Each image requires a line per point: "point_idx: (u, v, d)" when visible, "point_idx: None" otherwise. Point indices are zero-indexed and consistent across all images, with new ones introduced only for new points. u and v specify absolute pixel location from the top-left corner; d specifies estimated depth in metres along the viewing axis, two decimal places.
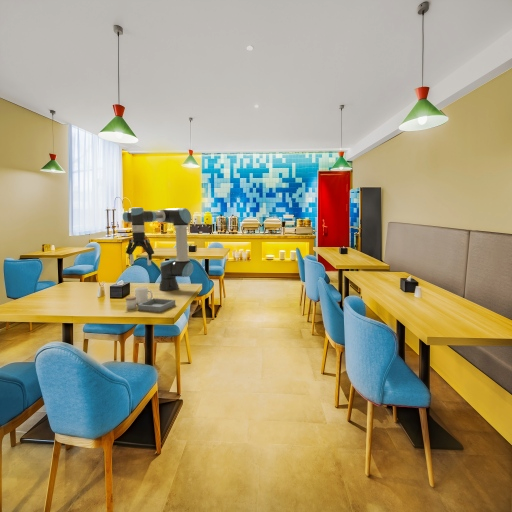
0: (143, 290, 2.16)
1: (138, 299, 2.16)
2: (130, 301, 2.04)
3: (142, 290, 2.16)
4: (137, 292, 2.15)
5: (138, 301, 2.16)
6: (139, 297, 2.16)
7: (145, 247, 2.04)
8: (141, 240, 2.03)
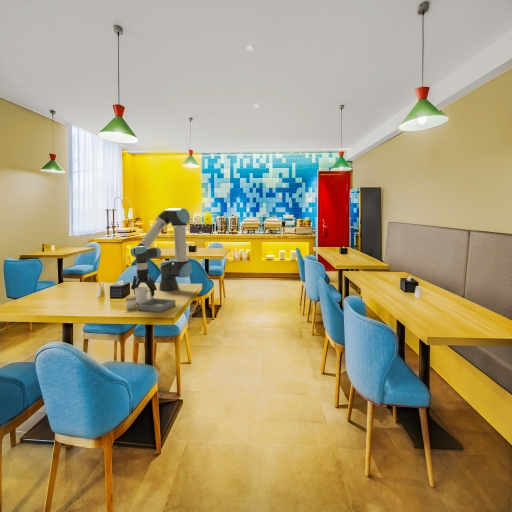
0: (143, 290, 2.16)
1: (138, 299, 2.16)
2: (130, 301, 2.04)
3: (142, 290, 2.16)
4: (137, 292, 2.15)
5: (138, 301, 2.16)
6: (139, 297, 2.16)
7: (148, 284, 2.16)
8: (145, 277, 2.16)
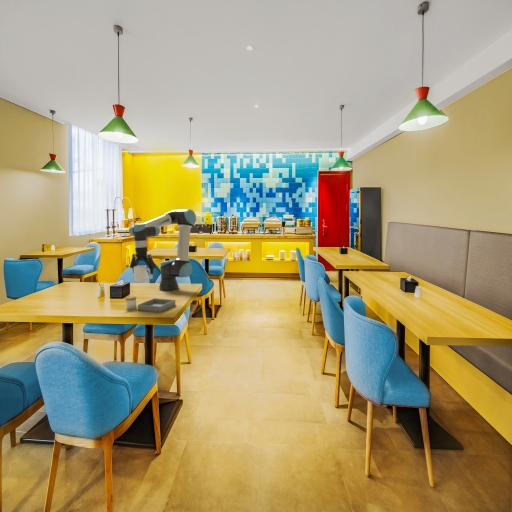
0: (142, 268, 2.14)
1: (137, 277, 2.14)
2: (130, 301, 2.04)
3: (141, 268, 2.14)
4: (136, 270, 2.14)
5: (137, 279, 2.14)
6: (138, 275, 2.14)
7: (147, 262, 2.15)
8: (144, 255, 2.14)
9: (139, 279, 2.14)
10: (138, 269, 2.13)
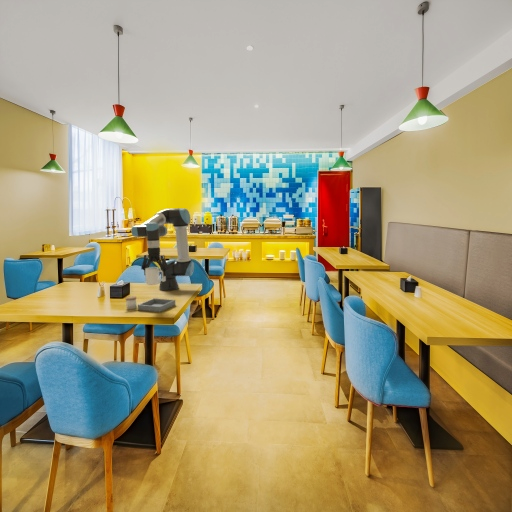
0: (154, 270, 2.01)
1: (149, 279, 2.01)
2: (130, 301, 2.04)
3: (153, 270, 2.01)
4: (148, 272, 2.01)
5: (149, 282, 2.01)
6: (150, 277, 2.01)
7: (160, 263, 2.02)
8: (156, 255, 2.01)
9: (151, 281, 2.01)
10: (150, 271, 2.00)
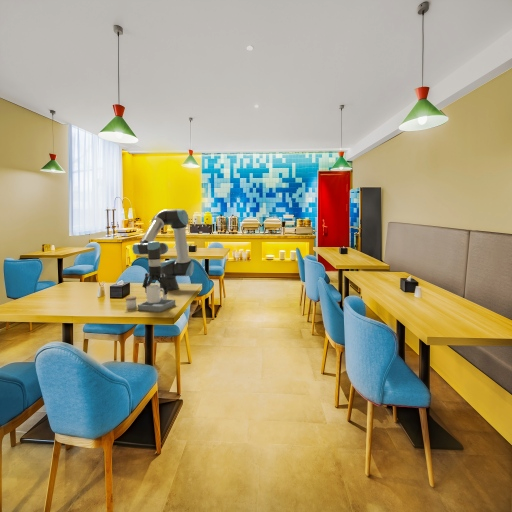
0: (155, 288, 2.03)
1: (150, 298, 2.03)
2: (130, 301, 2.04)
3: (154, 288, 2.02)
4: (149, 290, 2.02)
5: (150, 300, 2.03)
6: (151, 295, 2.02)
7: (161, 281, 2.03)
8: (157, 274, 2.03)
9: (152, 300, 2.03)
10: (151, 289, 2.02)
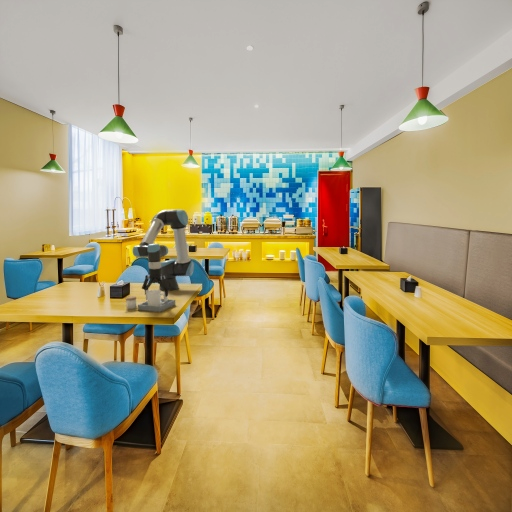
0: (156, 293, 2.03)
1: (151, 303, 2.03)
2: (130, 301, 2.04)
3: (155, 293, 2.03)
4: (150, 295, 2.03)
5: (151, 305, 2.03)
6: (152, 300, 2.03)
7: (161, 283, 2.03)
8: (157, 276, 2.03)
9: (153, 305, 2.03)
10: (152, 294, 2.02)
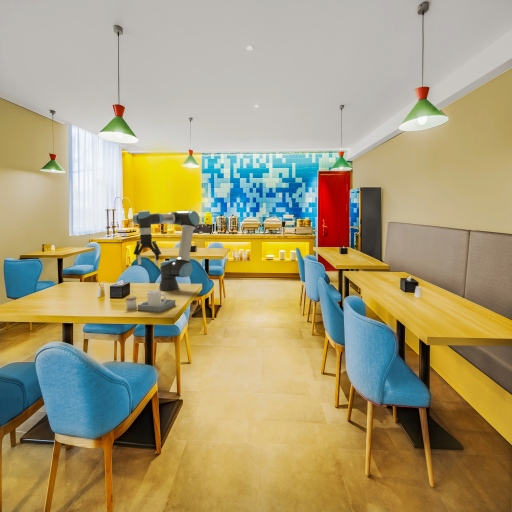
0: (156, 293, 2.03)
1: (151, 303, 2.03)
2: (130, 301, 2.04)
3: (155, 293, 2.03)
4: (150, 296, 2.03)
5: (151, 305, 2.03)
6: (152, 301, 2.03)
7: (152, 248, 2.17)
8: (148, 242, 2.16)
9: (153, 305, 2.03)
10: (152, 294, 2.02)
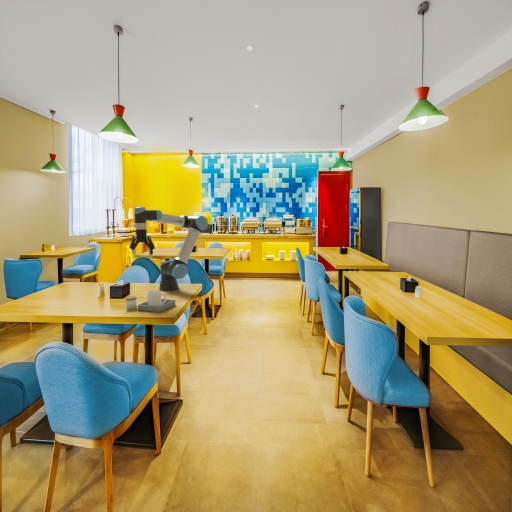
0: (156, 293, 2.03)
1: (151, 303, 2.03)
2: (130, 301, 2.04)
3: (155, 293, 2.03)
4: (150, 296, 2.03)
5: (151, 305, 2.03)
6: (152, 301, 2.03)
7: (147, 243, 2.26)
8: (143, 236, 2.25)
9: (153, 305, 2.03)
10: (152, 294, 2.02)
